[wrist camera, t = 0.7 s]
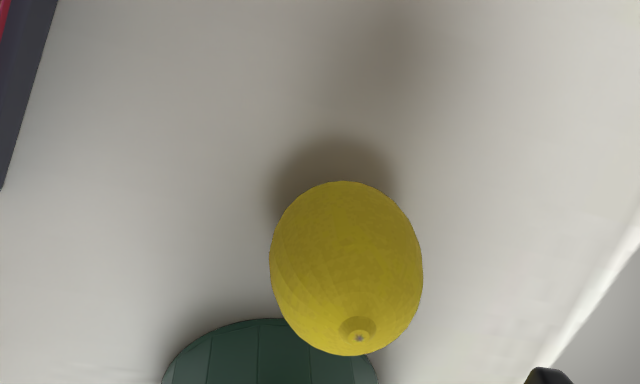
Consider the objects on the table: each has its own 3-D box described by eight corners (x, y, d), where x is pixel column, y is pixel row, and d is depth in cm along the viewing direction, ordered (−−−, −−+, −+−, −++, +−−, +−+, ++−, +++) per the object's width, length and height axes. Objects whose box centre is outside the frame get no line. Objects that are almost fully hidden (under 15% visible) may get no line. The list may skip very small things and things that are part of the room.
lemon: (424, 209, 25) (482, 340, 18) (327, 280, 26) (346, 426, 19) (343, 121, 23) (374, 231, 16) (242, 204, 24) (229, 338, 17)
